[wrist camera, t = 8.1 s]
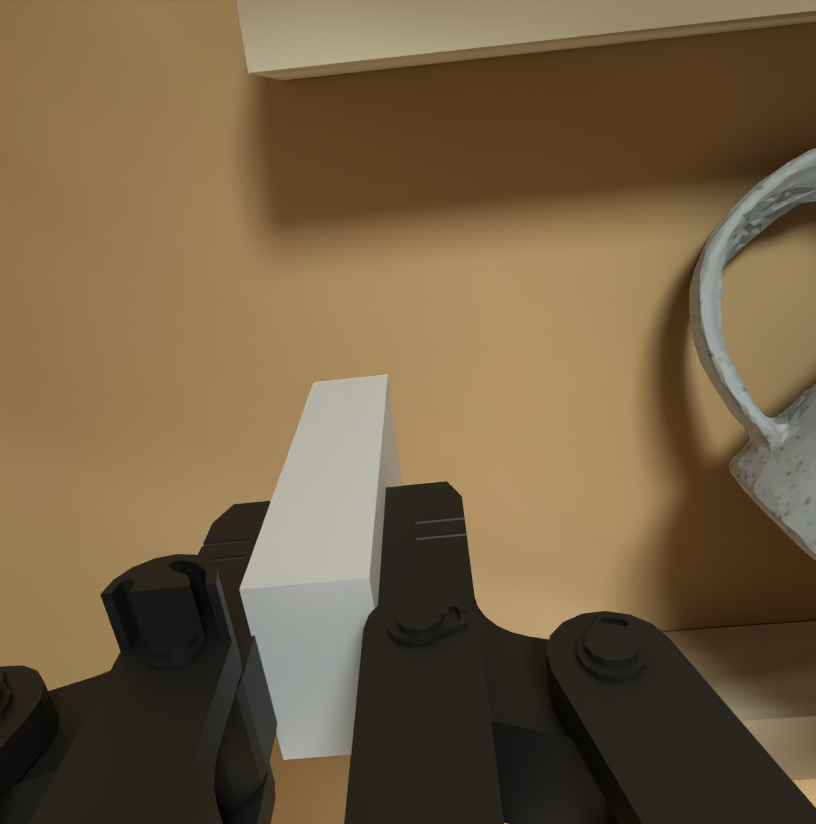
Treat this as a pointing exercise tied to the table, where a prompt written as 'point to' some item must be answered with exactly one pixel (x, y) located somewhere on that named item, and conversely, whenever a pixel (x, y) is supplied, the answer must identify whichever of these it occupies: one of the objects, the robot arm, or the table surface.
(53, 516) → the table surface
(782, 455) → the ceramic mug
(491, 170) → the table surface
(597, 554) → the table surface
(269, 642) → the robot arm
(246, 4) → the beam channel
